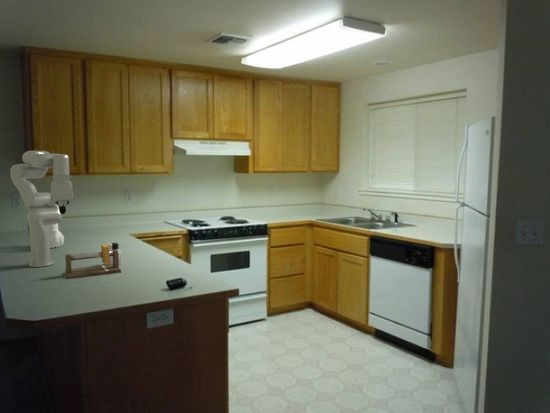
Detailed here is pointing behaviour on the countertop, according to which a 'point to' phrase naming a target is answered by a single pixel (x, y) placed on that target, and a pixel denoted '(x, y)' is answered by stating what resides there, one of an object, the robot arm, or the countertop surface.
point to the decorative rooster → (54, 235)
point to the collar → (105, 254)
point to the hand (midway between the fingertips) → (62, 213)
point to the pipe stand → (91, 270)
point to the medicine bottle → (115, 247)
